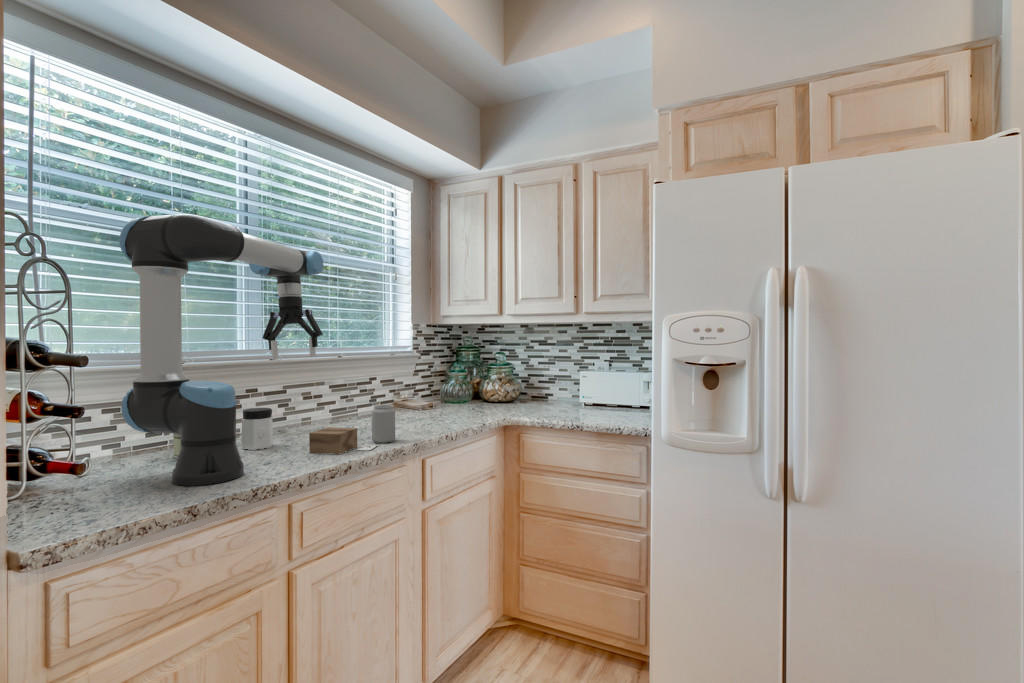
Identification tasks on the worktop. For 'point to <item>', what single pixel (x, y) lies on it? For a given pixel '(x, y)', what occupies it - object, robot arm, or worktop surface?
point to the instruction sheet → (370, 446)
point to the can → (383, 424)
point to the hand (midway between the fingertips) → (294, 358)
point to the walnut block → (332, 440)
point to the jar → (257, 428)
